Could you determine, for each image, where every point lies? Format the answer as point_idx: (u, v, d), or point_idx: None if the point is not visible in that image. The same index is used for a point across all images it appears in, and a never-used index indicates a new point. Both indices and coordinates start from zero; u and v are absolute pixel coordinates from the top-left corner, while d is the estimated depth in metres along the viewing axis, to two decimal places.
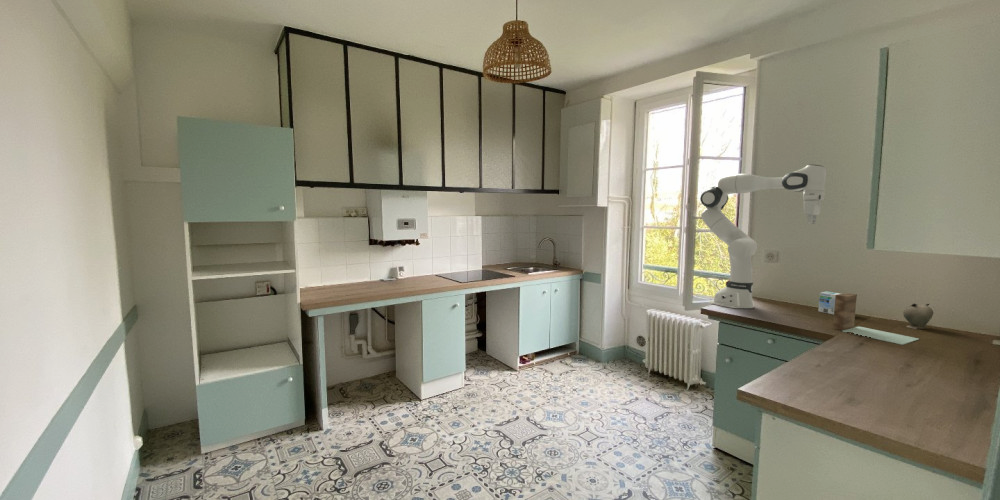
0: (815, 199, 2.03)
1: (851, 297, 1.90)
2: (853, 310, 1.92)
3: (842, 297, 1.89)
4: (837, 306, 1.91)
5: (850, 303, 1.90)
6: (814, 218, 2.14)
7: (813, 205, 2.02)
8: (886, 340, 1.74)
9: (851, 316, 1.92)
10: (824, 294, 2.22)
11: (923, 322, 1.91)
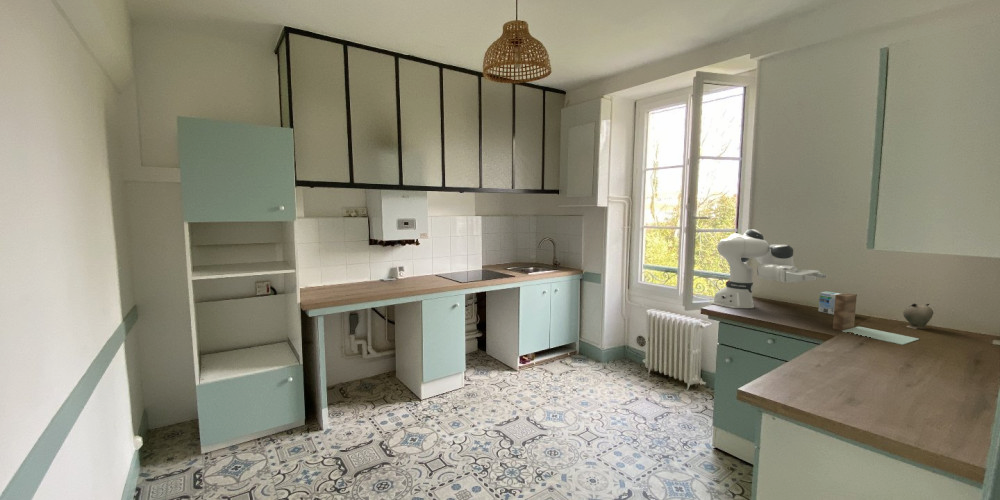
0: (784, 272, 2.08)
1: (851, 297, 1.90)
2: (853, 310, 1.92)
3: (842, 297, 1.89)
4: (837, 306, 1.91)
5: (850, 303, 1.90)
6: (820, 275, 2.06)
7: (789, 274, 2.05)
8: (886, 340, 1.74)
9: (851, 316, 1.92)
10: (824, 294, 2.22)
11: (923, 322, 1.91)
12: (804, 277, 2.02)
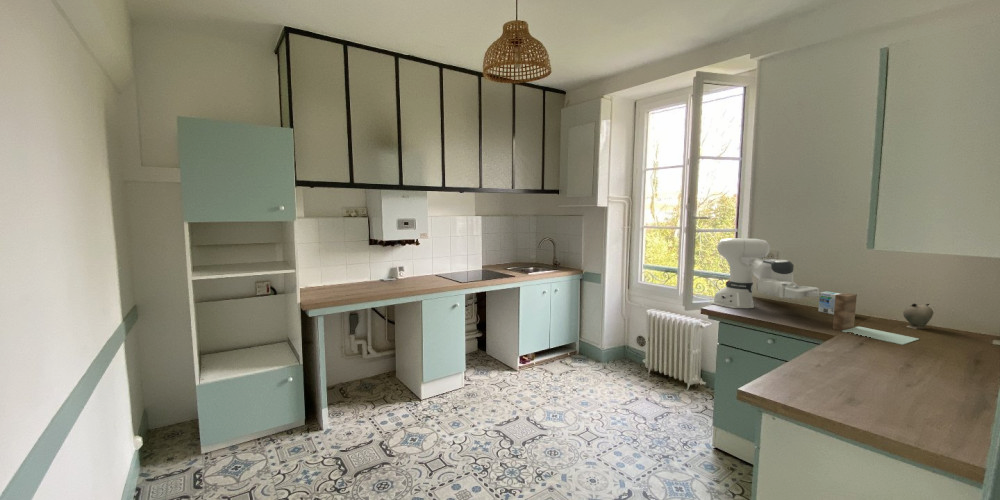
0: (783, 288, 2.08)
1: (851, 297, 1.90)
2: (853, 310, 1.92)
3: (842, 297, 1.89)
4: (837, 306, 1.91)
5: (850, 303, 1.90)
6: (815, 293, 2.04)
7: (788, 290, 2.05)
8: (886, 340, 1.74)
9: (851, 316, 1.92)
10: (824, 294, 2.22)
11: (923, 322, 1.91)
12: (807, 293, 2.04)
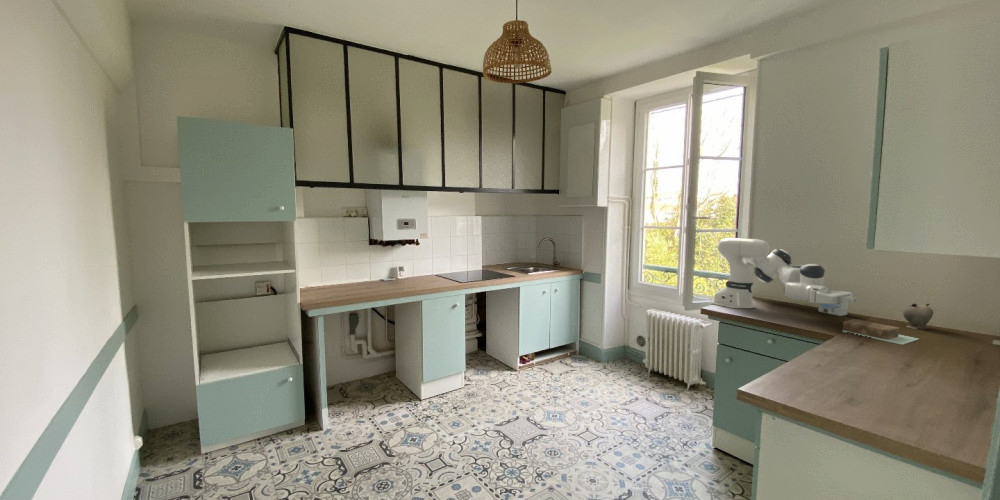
0: (814, 292, 1.96)
1: None
2: None
3: (885, 336, 1.75)
4: (872, 330, 1.79)
5: None
6: (849, 298, 1.92)
7: (820, 294, 1.93)
8: (886, 340, 1.74)
9: None
10: None
11: (923, 322, 1.91)
12: (840, 298, 1.91)
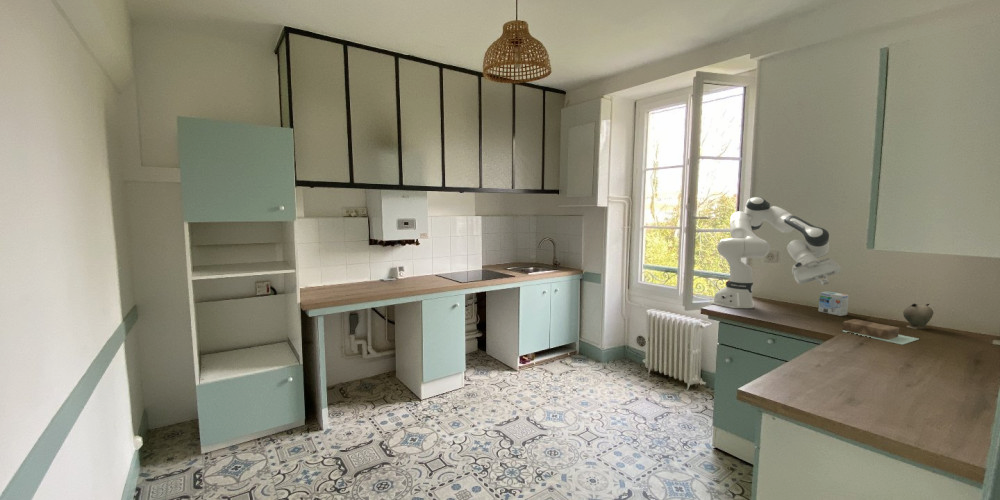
0: (794, 269, 2.20)
1: None
2: None
3: (885, 336, 1.75)
4: (872, 330, 1.79)
5: None
6: (825, 278, 2.12)
7: (795, 274, 2.18)
8: (886, 340, 1.74)
9: None
10: (824, 294, 2.22)
11: (923, 322, 1.91)
12: (815, 278, 2.14)
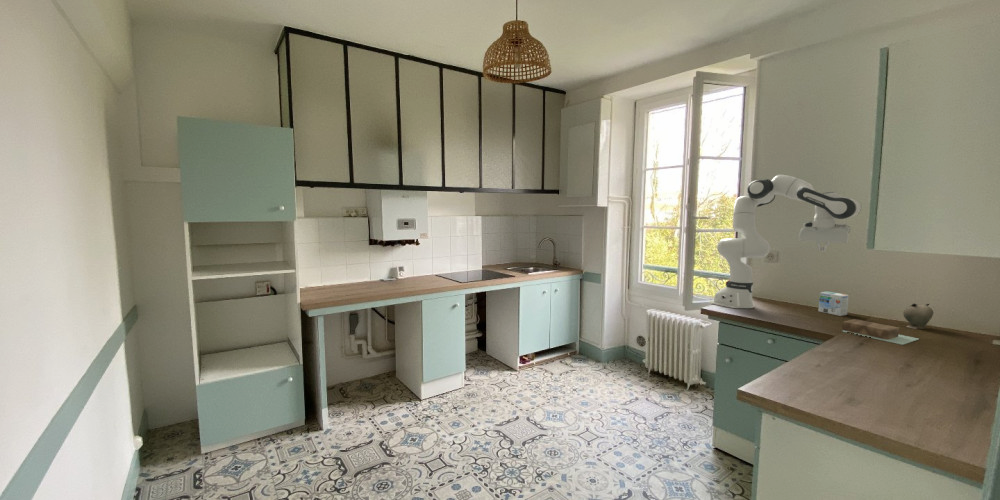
0: (803, 226, 2.17)
1: None
2: None
3: (885, 336, 1.75)
4: (872, 330, 1.79)
5: None
6: None
7: (800, 232, 2.18)
8: (886, 340, 1.74)
9: None
10: (824, 294, 2.22)
11: (923, 322, 1.91)
12: None
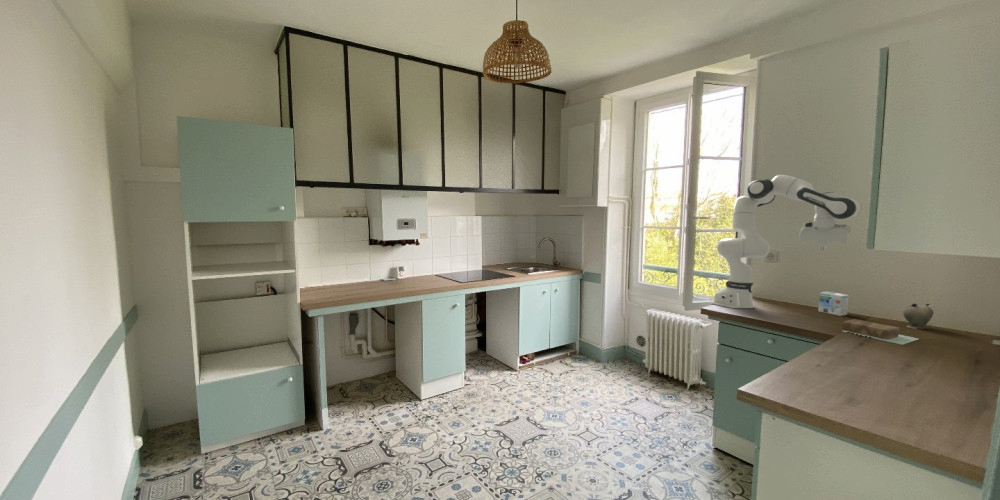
0: (803, 226, 2.17)
1: None
2: None
3: (885, 336, 1.75)
4: (872, 330, 1.79)
5: None
6: None
7: (800, 232, 2.18)
8: (886, 340, 1.74)
9: None
10: (824, 294, 2.22)
11: (923, 322, 1.91)
12: None
